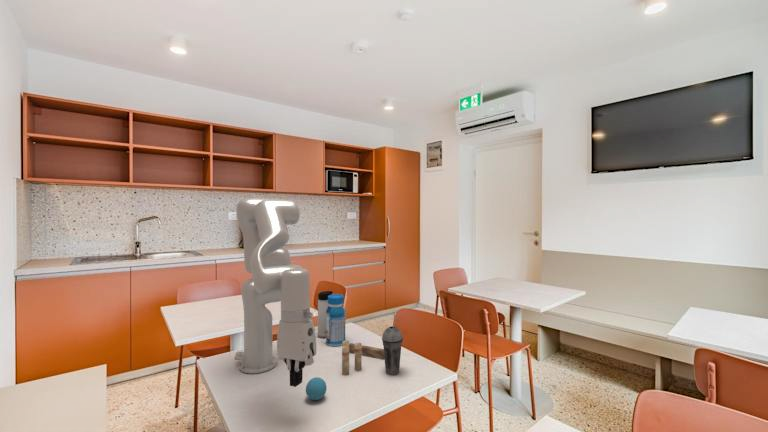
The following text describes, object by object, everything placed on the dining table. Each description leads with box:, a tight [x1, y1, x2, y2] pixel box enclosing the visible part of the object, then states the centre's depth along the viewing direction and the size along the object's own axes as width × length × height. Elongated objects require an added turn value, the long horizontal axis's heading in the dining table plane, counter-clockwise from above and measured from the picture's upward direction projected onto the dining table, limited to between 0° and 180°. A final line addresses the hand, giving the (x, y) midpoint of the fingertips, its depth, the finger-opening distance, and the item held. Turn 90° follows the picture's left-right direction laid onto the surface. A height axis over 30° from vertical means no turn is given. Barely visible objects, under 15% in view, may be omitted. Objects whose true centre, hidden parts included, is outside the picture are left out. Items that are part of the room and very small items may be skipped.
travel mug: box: [317, 290, 334, 339], centre depth 149 cm, size 6×7×20 cm
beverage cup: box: [381, 313, 404, 376], centre depth 115 cm, size 7×7×20 cm
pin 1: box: [341, 340, 350, 348], centre depth 119 cm, size 2×2×9 cm
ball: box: [305, 377, 328, 401], centre depth 98 cm, size 6×6×6 cm
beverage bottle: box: [325, 293, 347, 347], centre depth 141 cm, size 8×8×20 cm
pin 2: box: [354, 342, 363, 372], centre depth 117 cm, size 2×2×9 cm
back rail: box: [349, 342, 385, 361], centre depth 129 cm, size 16×2×3 cm, turn 66°
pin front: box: [341, 346, 350, 376], centre depth 114 cm, size 2×2×9 cm
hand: (296, 384), depth 89 cm, fingers closed
